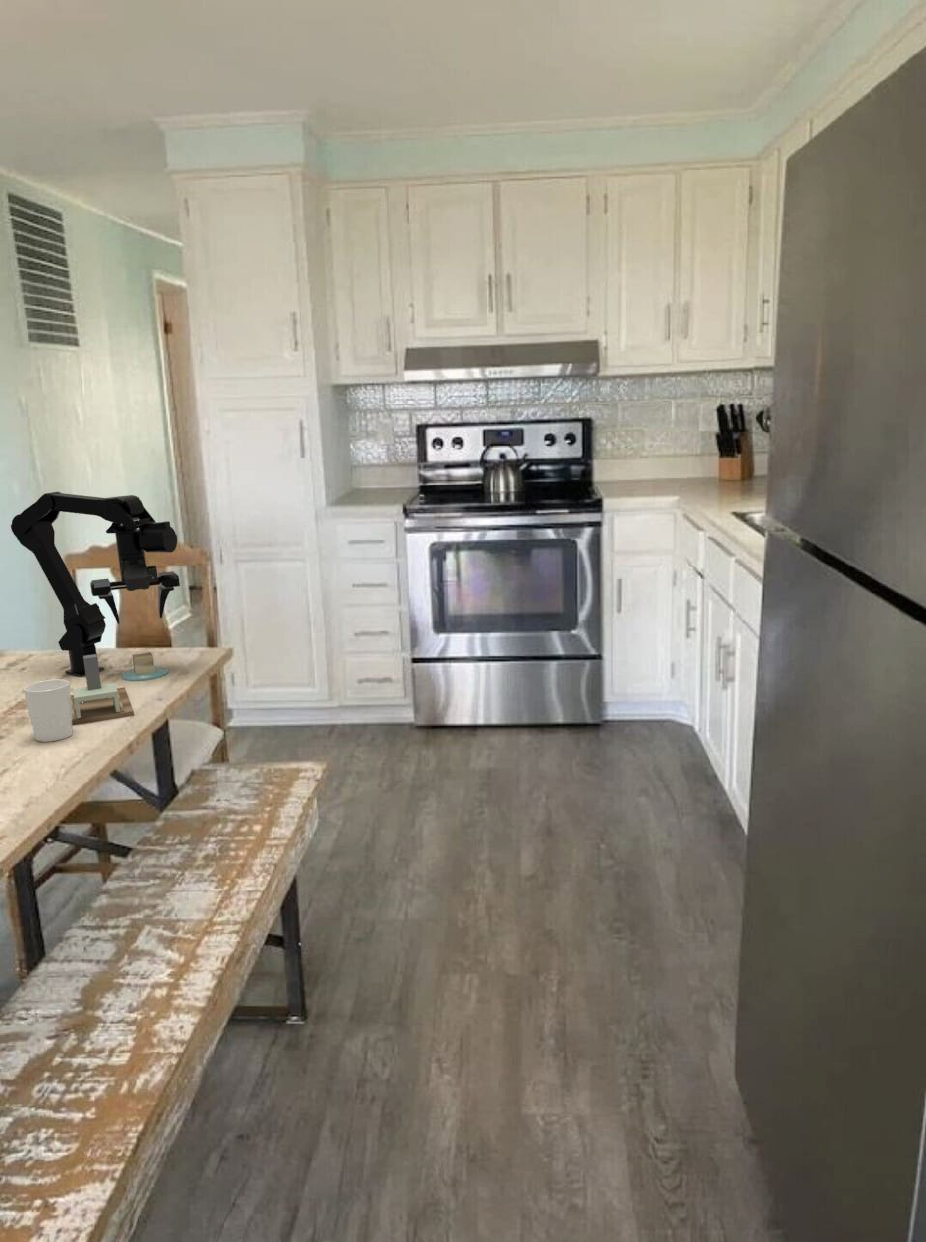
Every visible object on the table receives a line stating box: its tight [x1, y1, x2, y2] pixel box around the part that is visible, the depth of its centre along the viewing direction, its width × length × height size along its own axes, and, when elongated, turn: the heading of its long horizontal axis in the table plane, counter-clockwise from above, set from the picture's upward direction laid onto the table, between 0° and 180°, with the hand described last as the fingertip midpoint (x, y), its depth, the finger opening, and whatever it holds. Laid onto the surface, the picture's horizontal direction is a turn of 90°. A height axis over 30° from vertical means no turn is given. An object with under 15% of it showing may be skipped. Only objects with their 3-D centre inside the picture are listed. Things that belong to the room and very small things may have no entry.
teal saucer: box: [121, 665, 169, 682], centre depth 225 cm, size 10×10×1 cm
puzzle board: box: [71, 686, 135, 726], centre depth 201 cm, size 19×13×1 cm
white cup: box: [23, 678, 74, 743], centre depth 185 cm, size 8×8×10 cm
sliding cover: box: [72, 654, 120, 718], centre depth 195 cm, size 6×8×11 cm
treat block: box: [132, 651, 155, 675], centre depth 224 cm, size 4×4×4 cm
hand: (139, 620), depth 223 cm, fingers open, 9 cm apart
